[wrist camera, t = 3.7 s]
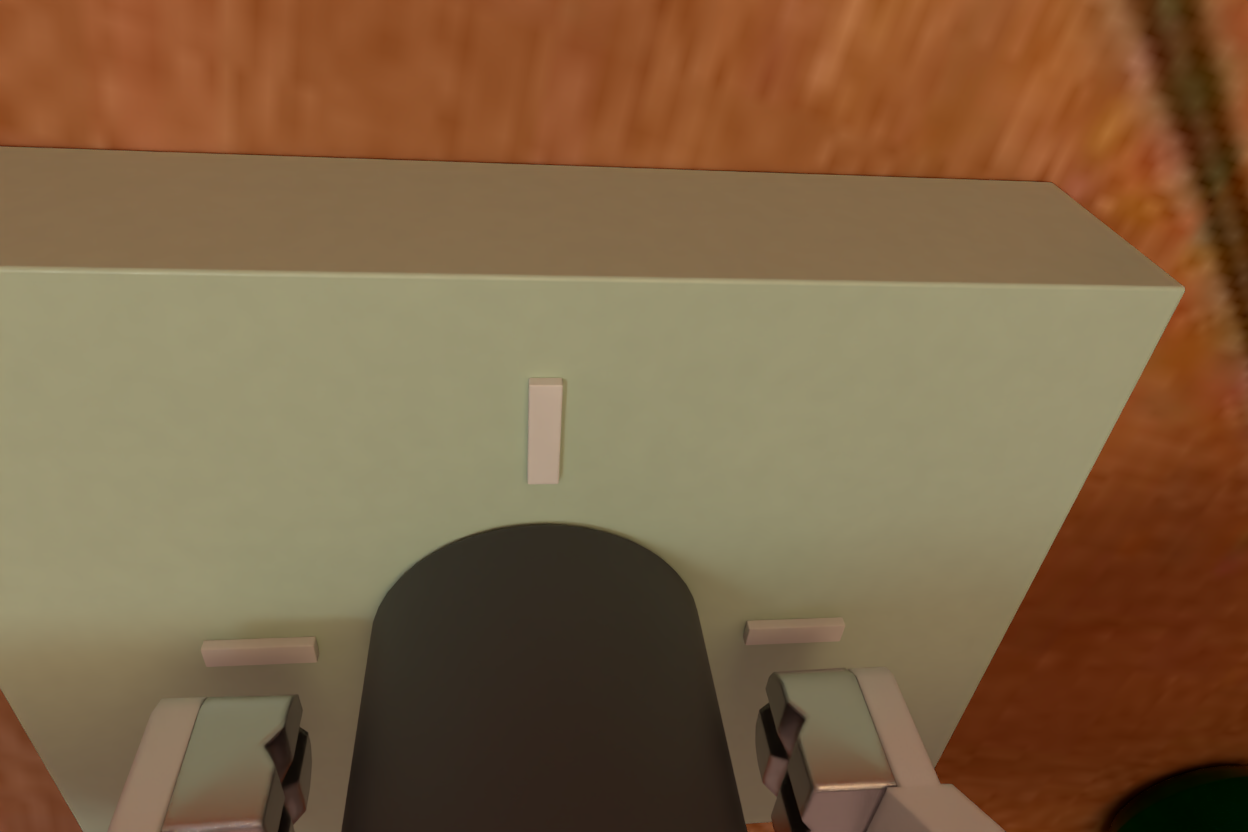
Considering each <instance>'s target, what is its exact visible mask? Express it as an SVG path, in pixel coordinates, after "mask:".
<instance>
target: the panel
mask: <svg viewBox="0 0 1248 832" xmlns="http://www.w3.org/2000/svg"><path fill="white" fill-rule="evenodd" d="M1184 292H1185V288H1184V286H1182V285H1181V284H1180V283H1179V282H1177V281H1176V280H1175V279H1174V278H1172V277H1171V276H1170V275H1169V274H1167V273H1166V272H1165V271H1163V270H1162V269H1161V268H1160V267H1158V266H1157V265H1156V264H1155V263H1153V262H1152V261H1151V260H1150V259H1148V258H1147V257H1146V256H1144V255H1143V254H1142V253H1141V252H1139V251H1138V250H1137V249H1136V248H1134V247H1133V246H1132V245H1131V244H1129V243H1128V242H1127V241H1125V240H1124V239H1123V238H1122V237H1120V236H1119V235H1118V234H1117V233H1115V232H1114V231H1113V230H1112V229H1110V228H1109V227H1108V226H1106V225H1105V224H1104V223H1103V222H1101V221H1100V220H1099V219H1098V218H1096V217H1095V216H1094V215H1093V214H1091V213H1090V212H1089V211H1087V210H1086V209H1085V208H1084V207H1082V206H1081V205H1080V204H1079V203H1077V202H1076V201H1075V200H1074V199H1072V198H1071V197H1070V196H1068V195H1067V194H1066V193H1065V192H1063V191H1062V190H1061V189H1060V188H1058V187H1057V186H1056V185H1054V184H1053V183H1051V182H1027V181H998V180H969V179H939V178H910V177H881V176H852V175H823V174H793V173H764V172H735V171H706V170H676V169H647V168H618V167H589V166H559V165H530V164H501V163H472V162H442V161H413V160H384V159H355V158H325V157H296V156H267V155H238V154H208V153H179V152H150V151H121V150H91V149H62V148H33V147H4V146H0V689H1V690H2V692H3V694H4V695H5V697H6V699H7V701H8V702H9V704H10V706H11V708H12V709H13V711H14V713H15V714H16V716H17V718H18V720H19V721H20V723H21V725H22V727H23V728H24V730H25V732H26V734H27V735H28V737H29V739H30V740H31V742H32V744H33V746H34V747H35V749H36V751H37V753H38V754H39V756H40V758H41V760H42V761H43V763H44V765H45V766H46V768H47V770H48V772H49V773H50V775H51V777H52V779H53V780H54V782H55V784H56V785H57V787H58V789H59V791H60V792H61V794H62V796H63V798H64V799H65V801H66V803H67V805H68V806H69V808H70V810H71V811H72V813H73V815H74V817H75V818H76V820H77V822H78V824H79V825H80V827H81V829H82V831H83V832H107V831H108V828H109V826H110V823H111V820H112V818H113V815H114V812H115V809H116V807H117V804H118V801H119V799H120V796H121V793H122V791H123V788H124V785H125V782H126V780H127V777H128V774H129V772H130V769H131V766H132V764H133V761H134V758H135V756H136V753H137V750H138V747H139V745H140V742H141V739H142V737H143V734H144V731H145V729H146V726H147V723H148V720H149V718H150V715H151V713H152V711H153V710H154V709H155V707H156V706H157V704H158V703H159V702H160V700H161V699H164V698H186V697H208V696H209V697H224V696H255V695H287V694H298V695H299V699H300V702H301V705H302V709H303V713H302V718H301V723H300V727H301V728H302V729H304V730H306V731H307V732H308V733H309V738H310V742H311V753H312V770H311V784H310V791H309V797H308V803H307V809H306V811H305V813H304V814H303V815H302V816H301V817H300V818H299V819H298V820H297V822H296V823H295V824H294V825H293V827H294V831H295V832H341V830H342V823H343V816H344V810H345V803H346V797H347V790H348V783H349V777H350V770H351V763H352V757H353V750H354V743H355V737H356V730H357V723H358V717H359V710H360V704H361V697H362V690H363V684H364V677H365V670H366V664H367V657H368V650H369V644H370V637H371V631H372V625H373V620H374V618H375V615H376V613H377V610H378V607H379V606H380V604H381V602H382V601H383V599H384V597H385V596H386V594H387V593H388V591H389V590H390V589H391V588H392V587H393V585H394V584H395V583H396V582H397V581H398V580H399V579H400V577H401V576H403V575H404V574H405V573H406V572H407V571H408V570H410V569H411V568H412V567H413V566H414V565H415V564H417V563H419V562H420V561H422V560H423V559H425V558H426V557H428V556H429V555H431V554H432V553H434V552H436V551H438V550H440V549H442V548H444V547H446V546H448V545H450V544H453V543H455V542H458V541H461V540H463V539H466V538H469V537H471V536H475V535H478V534H482V533H486V532H490V531H494V530H499V529H505V528H511V527H517V526H532V525H566V526H574V527H582V528H589V529H593V530H598V531H602V532H606V533H610V534H613V535H616V536H619V537H622V538H625V539H628V540H630V541H632V542H634V543H636V544H638V545H640V546H643V547H645V548H647V549H648V550H650V551H651V552H653V553H654V554H656V555H657V556H659V557H660V558H662V559H663V560H664V561H665V562H666V563H667V564H669V565H670V566H671V567H672V568H673V569H674V570H675V571H676V572H677V573H678V575H679V576H680V577H681V578H682V580H683V581H684V582H685V583H686V585H687V586H688V588H689V590H690V592H691V594H692V596H693V598H694V601H695V604H696V607H697V611H698V615H699V620H700V624H701V628H702V633H703V637H704V642H705V646H706V651H707V655H708V660H709V664H710V668H711V673H712V677H713V682H714V686H715V691H716V695H717V700H718V704H719V708H720V713H721V717H722V722H723V726H724V731H725V735H726V740H727V744H728V748H729V753H730V757H731V762H732V766H733V771H734V775H735V780H736V784H737V789H738V793H739V797H740V802H741V806H742V811H743V815H744V820H745V824H748V823H763V822H772V819H771V814H772V811H773V808H774V805H775V802H776V799H777V797H776V796H775V795H774V794H773V793H772V792H771V791H770V790H769V789H768V788H767V787H766V786H765V785H764V784H763V783H762V779H761V775H760V771H759V766H758V761H757V754H756V747H755V728H756V722H757V717H758V713H759V710H760V709H761V708H762V707H763V706H765V705H766V704H767V703H769V701H768V697H767V693H766V689H765V688H766V685H767V682H768V678H769V676H770V675H771V674H772V673H773V672H780V671H796V670H813V669H829V668H846V669H851V668H866V667H886V668H888V669H889V670H890V671H891V672H892V673H893V675H894V677H895V679H896V681H897V684H898V686H899V688H900V691H901V693H902V695H903V698H904V700H905V702H906V705H907V707H908V709H909V712H910V714H911V716H912V719H913V721H914V723H915V726H916V728H917V730H918V733H919V735H920V737H921V740H922V742H923V744H924V747H925V749H926V751H927V754H928V756H929V758H930V760H931V763H932V765H933V767H934V768H935V766H936V764H937V762H938V761H939V759H940V757H941V755H942V753H943V751H944V749H945V747H946V745H947V743H948V742H949V740H950V738H951V736H952V734H953V732H954V730H955V728H956V726H957V724H958V722H959V721H960V719H961V717H962V715H963V713H964V711H965V709H966V707H967V705H968V703H969V702H970V700H971V698H972V696H973V694H974V692H975V690H976V688H977V686H978V684H979V682H980V681H981V679H982V677H983V675H984V673H985V671H986V669H987V667H988V665H989V663H990V661H991V660H992V658H993V656H994V654H995V652H996V650H997V648H998V646H999V644H1000V642H1001V641H1002V639H1003V637H1004V635H1005V633H1006V631H1007V629H1008V627H1009V625H1010V623H1011V621H1012V620H1013V618H1014V616H1015V614H1016V612H1017V610H1018V608H1019V606H1020V604H1021V602H1022V601H1023V599H1024V597H1025V595H1026V593H1027V591H1028V589H1029V587H1030V585H1031V583H1032V581H1033V580H1034V578H1035V576H1036V574H1037V572H1038V570H1039V568H1040V566H1041V564H1042V562H1043V561H1044V559H1045V557H1046V555H1047V553H1048V551H1049V549H1050V547H1051V545H1052V543H1053V541H1054V540H1055V538H1056V536H1057V534H1058V532H1059V530H1060V528H1061V526H1062V524H1063V522H1064V521H1065V519H1066V517H1067V515H1068V513H1069V511H1070V509H1071V507H1072V505H1073V503H1074V501H1075V500H1076V498H1077V496H1078V494H1079V492H1080V490H1081V488H1082V486H1083V484H1084V482H1085V480H1086V479H1087V477H1088V475H1089V473H1090V471H1091V469H1092V467H1093V465H1094V463H1095V461H1096V460H1097V458H1098V456H1099V454H1100V452H1101V450H1102V448H1103V446H1104V444H1105V442H1106V440H1107V439H1108V437H1109V435H1110V433H1111V431H1112V429H1113V427H1114V425H1115V423H1116V421H1117V420H1118V418H1119V416H1120V414H1121V412H1122V410H1123V408H1124V406H1125V404H1126V402H1127V400H1128V399H1129V397H1130V395H1131V393H1132V391H1133V389H1134V387H1135V385H1136V383H1137V381H1138V380H1139V378H1140V376H1141V374H1142V372H1143V370H1144V368H1145V366H1146V364H1147V362H1148V360H1149V359H1150V357H1151V355H1152V353H1153V351H1154V349H1155V347H1156V345H1157V343H1158V341H1159V340H1160V338H1161V336H1162V334H1163V332H1164V330H1165V328H1166V326H1167V324H1168V322H1169V320H1170V319H1171V317H1172V315H1173V313H1174V311H1175V309H1176V307H1177V305H1178V303H1179V301H1180V299H1181V298H1182V296H1183V294H1184Z"/></svg>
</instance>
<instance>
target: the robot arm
mask: <svg viewBox="0 0 1248 832" xmlns="http://www.w3.org/2000/svg"><path fill="white" fill-rule="evenodd" d="M765 689H766V693H767V697H768V701H769V703H767V704H766V705H765V706H763V707H762V708H761V709H760V710H759V713H758V717H757V722H756V728H755V747H756V754H757V761H758V766H759V771H760V775H761V779H762V783H763V784H764V785H765V786H766V787H767V788H768V789H769V790H770V791H771V792H772V793H773V794H774V795H775V796H776V797H777V799H776V802H775V805H774V808H773V811H772V814H771V819H772V823H773V827H774V831H775V832H1006V831H1005V830H1004V829H1003V828H1001V827H1000V826H999V825H998V824H997V823H996V822H995V821H994V820H992V819H991V818H990V817H989V816H988V815H987V814H986V813H984V812H983V811H982V810H981V809H980V808H979V807H978V806H976V805H975V804H974V803H973V802H972V801H971V800H970V799H969V798H967V797H966V796H965V795H964V794H963V793H962V792H961V791H959V790H958V789H957V788H956V787H955V786H954V785H953V784H940V781H939V779H938V777H937V774H936V772H935V770H934V767H933V765H932V763H931V760H930V758H929V756H928V754H927V751H926V749H925V747H924V744H923V742H922V740H921V737H920V735H919V733H918V730H917V728H916V726H915V723H914V721H913V719H912V716H911V714H910V712H909V709H908V707H907V705H906V702H905V700H904V698H903V695H902V693H901V691H900V688H899V686H898V684H897V681H896V679H895V677H894V675H893V673H892V672H891V671H890V670H889V669H888V668H886V667H866V668H851V669H846V668H829V669H813V670H796V671H780V672H773V673H772V674H771V675H770V676H769V678H768V682H767V685H766V688H765ZM302 713H303V709H302V705H301V702H300V699H299V695H298V694H287V695H255V696H224V697H209V696H208V697H186V698H164V699H161V700H160V702H159V703H158V704H157V706H156V707H155V709H154V710H153V711H152V713H151V715H150V718H149V720H148V723H147V726H146V729H145V731H144V734H143V737H142V739H141V742H140V745H139V747H138V750H137V753H136V756H135V758H134V761H133V764H132V766H131V769H130V772H129V774H128V777H127V780H126V782H125V785H124V788H123V791H122V793H121V796H120V799H119V801H118V804H117V807H116V809H115V812H114V815H113V818H112V820H111V823H110V826H109V828H108V831H107V832H295V831H294V827H293V825H294V824H295V823H296V822H297V820H298V819H299V818H300V817H301V816H302V815H303V814H304V813H305V811H306V809H307V803H308V797H309V791H310V784H311V770H312V753H311V742H310V738H309V733H308V732H307V731H306V730H304V729H302V728H301V727H300V723H301V718H302Z"/></svg>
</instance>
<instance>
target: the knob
mask: <svg viewBox="0 0 1248 832" xmlns="http://www.w3.org/2000/svg"><path fill="white" fill-rule="evenodd" d="M341 832H747V829H746V824H745V820H744V815H743V811H742V806H741V802H740V797H739V793H738V789H737V784H736V780H735V775H734V771H733V766H732V762H731V757H730V753H729V748H728V744H727V740H726V735H725V731H724V726H723V722H722V717H721V713H720V708H719V704H718V700H717V695H716V691H715V686H714V682H713V677H712V673H711V668H710V664H709V660H708V655H707V651H706V646H705V642H704V637H703V633H702V628H701V624H700V620H699V615H698V611H697V607H696V604H695V601H694V598H693V596H692V594H691V592H690V590H689V588H688V586H687V585H686V583H685V582H684V581H683V580H682V578H681V577H680V576H679V575H678V573H677V572H676V571H675V570H674V569H673V568H672V567H671V566H670V565H669V564H667V563H666V562H665V561H664V560H663V559H662V558H660V557H659V556H657V555H656V554H654V553H653V552H651V551H650V550H648V549H647V548H645V547H643V546H640V545H638V544H636V543H634V542H632V541H630V540H628V539H625V538H622V537H619V536H616V535H613V534H610V533H606V532H602V531H598V530H593V529H589V528H582V527H574V526H566V525H532V526H517V527H511V528H505V529H499V530H494V531H490V532H486V533H482V534H478V535H475V536H471V537H469V538H466V539H463V540H461V541H458V542H455V543H453V544H450V545H448V546H446V547H444V548H442V549H440V550H438V551H436V552H434V553H432V554H431V555H429V556H428V557H426V558H425V559H423V560H422V561H420V562H419V563H417V564H415V565H414V566H413V567H412V568H411V569H410V570H408V571H407V572H406V573H405V574H404V575H403V576H401V577H400V579H399V580H398V581H397V582H396V583H395V584H394V585H393V587H392V588H391V589H390V590H389V591H388V593H387V594H386V596H385V597H384V599H383V601H382V602H381V604H380V606H379V607H378V610H377V613H376V615H375V618H374V620H373V625H372V631H371V637H370V644H369V650H368V657H367V664H366V670H365V677H364V684H363V690H362V697H361V704H360V710H359V717H358V723H357V730H356V737H355V743H354V750H353V757H352V763H351V770H350V777H349V783H348V790H347V797H346V803H345V810H344V816H343V823H342V830H341Z"/></svg>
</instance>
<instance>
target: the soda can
mask: <svg viewBox="0 0 1248 832" xmlns="http://www.w3.org/2000/svg"><path fill="white" fill-rule="evenodd" d="M1109 832H1248V767H1247V766H1237V765H1234V766H1217V767H1209V768H1204V769H1199V770H1195V771H1191V772H1188V773H1184V774H1181V775H1178V776H1175V777H1173V778H1170V779H1168V780H1165V781H1163V782H1161V783H1159V784H1157V785H1155V786H1153V787H1151V788H1149V789H1147V790H1146V791H1144V792H1142V793H1141V794H1139V795H1138V796H1136V797H1135V798H1134V799H1132V800H1131V801H1130V802H1129V803H1127V804H1126V805H1125V806H1124V807H1123V808H1122V809H1121V810H1120V811H1119V812H1118V814H1117V815H1116V816H1115V818H1114V819H1113V821H1112V824H1111V827H1110V831H1109Z"/></svg>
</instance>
